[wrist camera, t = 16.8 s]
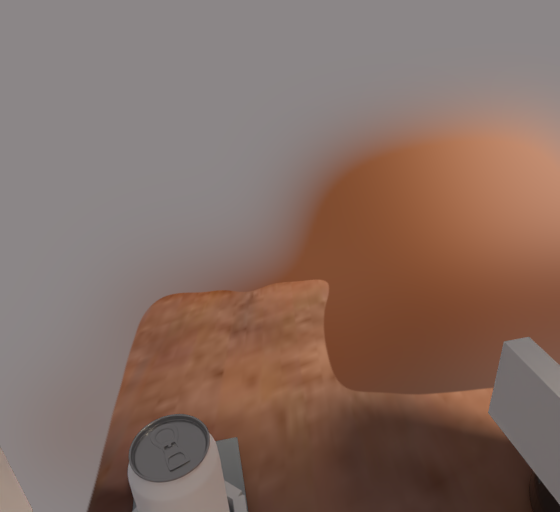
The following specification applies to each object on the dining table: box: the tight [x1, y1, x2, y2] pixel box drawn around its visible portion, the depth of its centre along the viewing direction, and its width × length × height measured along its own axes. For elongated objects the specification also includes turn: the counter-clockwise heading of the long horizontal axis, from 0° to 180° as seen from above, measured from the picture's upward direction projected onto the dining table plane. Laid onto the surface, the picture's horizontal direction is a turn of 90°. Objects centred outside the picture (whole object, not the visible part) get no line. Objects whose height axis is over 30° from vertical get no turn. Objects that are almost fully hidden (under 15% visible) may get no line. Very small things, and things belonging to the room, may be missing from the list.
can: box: [128, 414, 230, 512], centre depth 35 cm, size 6×6×12 cm
